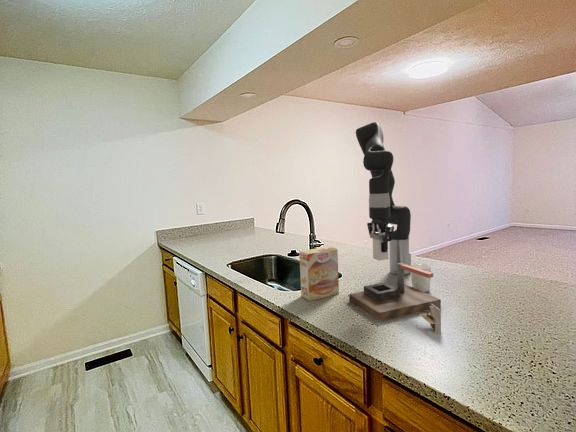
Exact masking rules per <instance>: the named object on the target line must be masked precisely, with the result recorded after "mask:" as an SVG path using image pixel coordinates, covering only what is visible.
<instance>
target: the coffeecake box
mask: <svg viewBox="0 0 576 432" xmlns="http://www.w3.org/2000/svg"><path fill="white" fill-rule="evenodd" d="M298 253H299V255H298V257H299V271H300V272H299V273H300V275H299V276H300V293H301V294H300V295H301V298H303V299H306V300H307V301H308V302H312V301H315V300H318V299H324V298H327V297H331V296H335V295H339V293H340V289H339V288H340V285H339V282H340V281H339V257H338V256H339V255H338V253H339V252H338V248H336V247H333V246H332V247H331V246H329V245H328V246H324V247H316V248H312V249H305V250H299V252H298Z"/></svg>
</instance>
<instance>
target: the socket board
mask: <svg viewBox="0 0 576 432" xmlns="http://www.w3.org/2000/svg"><path fill="white" fill-rule="evenodd" d="M348 296H349V300H348V301H349V303H351V304H353V305H354V306H355V307H357V308H359V309H360V310H362V311H363V312H365V313H366V314H367V315H370V316H371V317H372V318H374V319H375V320H377V321H378V322H384V321H387V320H391V319H396V318H401V317H406V316H411V315H414V314H418V313H422V312H426V311H431V310H430V307H429V306H431V304H433V305H434V306H436V307H437V308H439V309H440V308H442V307H441V306H442V303H441V302H442V301H441V299H440V298H438V297H436V296H434V295H431V294H430V293H427V292H422V291H420V290H417V289H415V288H412V286H410V285H407V284H405V283H404V292H400V290H399V289H397V284H396V285H391V284H389V283H386V282H381V283H379V282H378V283H374V284H368V285H364V286H363V291H360V292H359V291H358V292H354V293H350V294H349V295H348Z"/></svg>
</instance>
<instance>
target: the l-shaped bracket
mask: <svg viewBox="0 0 576 432" xmlns="http://www.w3.org/2000/svg"><path fill="white" fill-rule="evenodd" d="M404 270H407V271H410V273H411V272H413V273H415V274H418V275H421V276H424V277H427V278H430V279H431V278H432V279H433V278H434V273H433V272H428V271H425V270H422V269H418V268H415V267H412V266H409V265H406V264H404V263H397V275H396V277H397V278H396V279H397V282H396V283H397V284H396V285H397V289H399V290H400V292H404V284H405V275H404Z"/></svg>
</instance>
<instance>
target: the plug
mask: <svg viewBox="0 0 576 432" xmlns="http://www.w3.org/2000/svg"><path fill="white" fill-rule="evenodd" d="M382 234H385V233H382ZM384 237H385V236H383V238H384ZM388 238H389V236H388ZM369 239H372V257H373V259H374V260H376V261H387V260H390V256H389V249H388V250H387V252H381V239H382V236H381V235H379V233H377V234H370V235H369ZM387 247H388V248H389V241H388V242H387Z"/></svg>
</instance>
